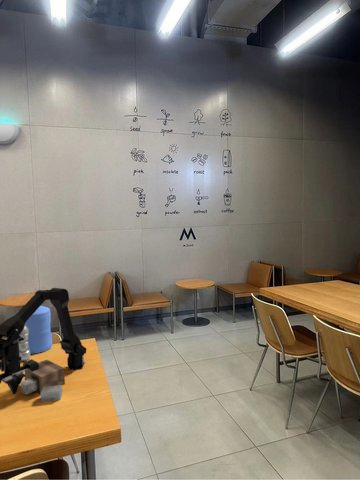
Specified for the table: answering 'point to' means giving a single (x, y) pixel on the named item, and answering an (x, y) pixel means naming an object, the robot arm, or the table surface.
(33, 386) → the peg
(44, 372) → the socket block
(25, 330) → the plastic bottle
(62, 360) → the table surface
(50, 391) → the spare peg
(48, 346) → the water jug
